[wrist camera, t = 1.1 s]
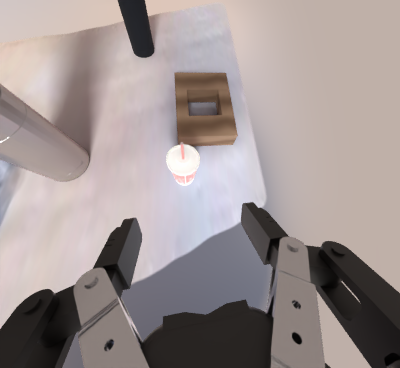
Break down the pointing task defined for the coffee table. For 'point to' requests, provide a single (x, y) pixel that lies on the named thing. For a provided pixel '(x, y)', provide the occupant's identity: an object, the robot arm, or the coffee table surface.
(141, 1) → the black water bottle
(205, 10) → the coffee table surface
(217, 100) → the wooden cup holder
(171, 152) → the beverage cup
